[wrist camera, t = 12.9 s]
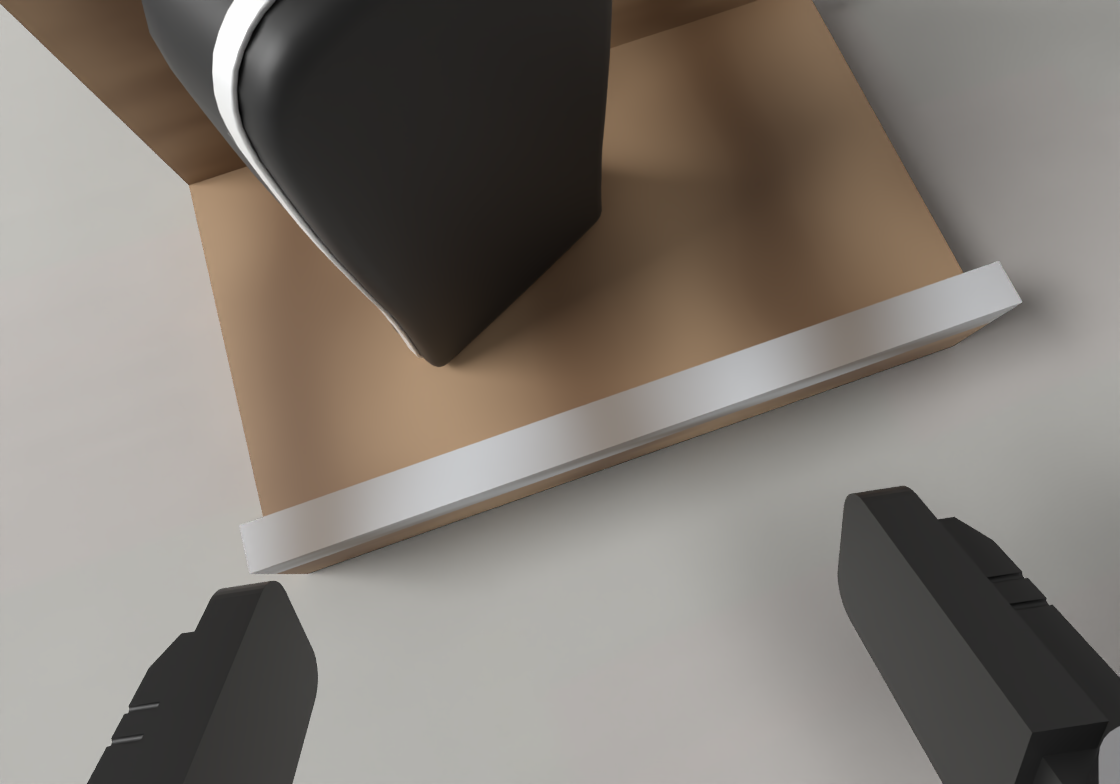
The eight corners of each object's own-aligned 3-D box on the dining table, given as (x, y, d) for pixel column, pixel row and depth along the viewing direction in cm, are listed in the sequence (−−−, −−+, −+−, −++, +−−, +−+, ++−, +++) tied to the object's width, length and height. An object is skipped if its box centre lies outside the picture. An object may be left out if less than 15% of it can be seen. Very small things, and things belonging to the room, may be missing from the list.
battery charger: (519, 137, 20) (434, -375, 9) (612, 214, 20) (637, -247, 9) (345, 294, 19) (20, -76, 8) (436, 383, 19) (207, 103, 8)
